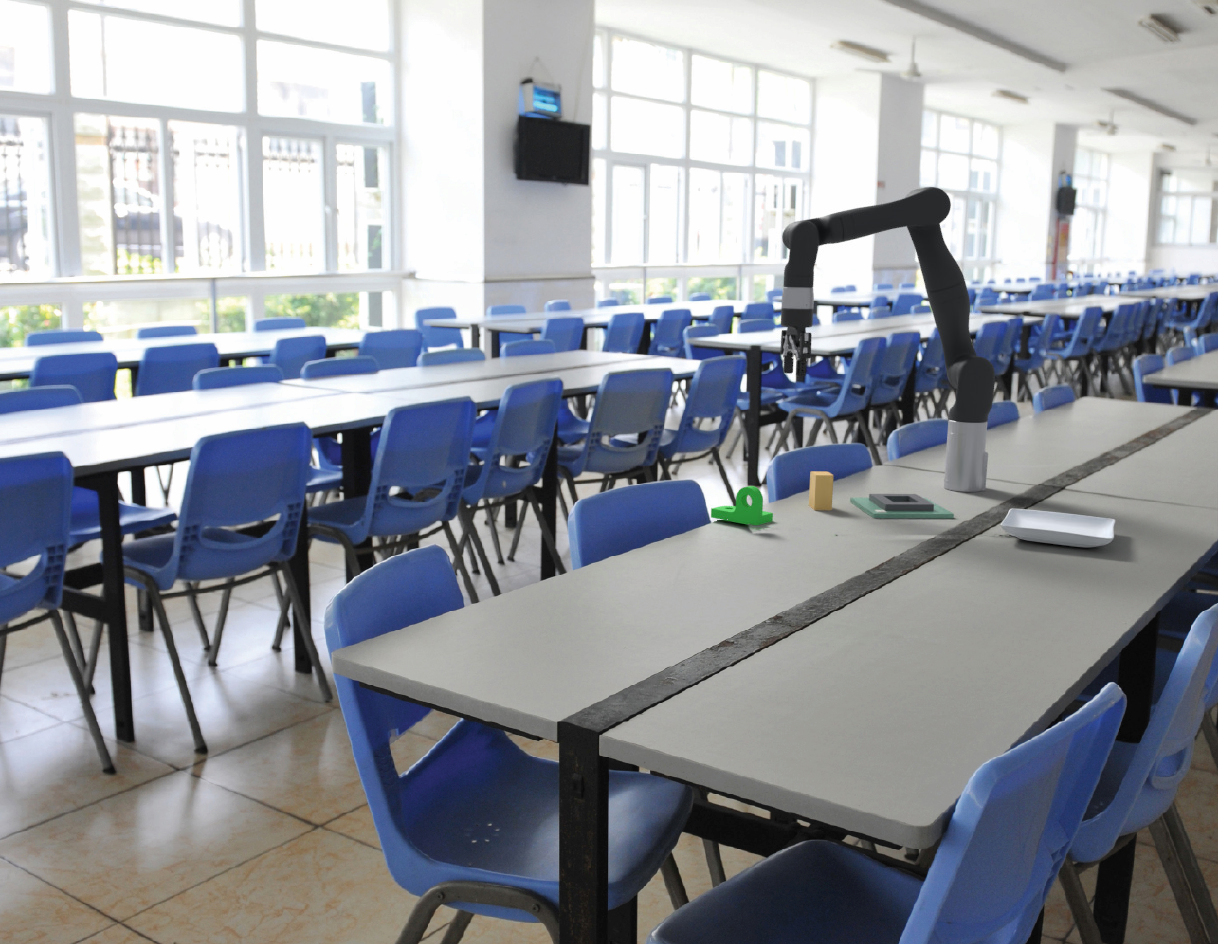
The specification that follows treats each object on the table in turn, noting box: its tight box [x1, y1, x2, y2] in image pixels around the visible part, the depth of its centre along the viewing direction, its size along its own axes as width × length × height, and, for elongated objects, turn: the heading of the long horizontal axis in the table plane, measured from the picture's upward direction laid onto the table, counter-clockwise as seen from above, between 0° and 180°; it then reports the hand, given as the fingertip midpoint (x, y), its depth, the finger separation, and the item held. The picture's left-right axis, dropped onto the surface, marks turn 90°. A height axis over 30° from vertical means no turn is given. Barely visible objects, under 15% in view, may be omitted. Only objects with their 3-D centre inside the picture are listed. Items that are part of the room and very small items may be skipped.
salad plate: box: [1000, 508, 1116, 548], centre depth 233 cm, size 21×21×3 cm
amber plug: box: [808, 470, 834, 511], centre depth 255 cm, size 4×5×8 cm
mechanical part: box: [710, 485, 774, 526], centre depth 242 cm, size 12×6×8 cm, turn 48°
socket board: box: [849, 493, 955, 519], centre depth 255 cm, size 18×18×2 cm
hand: (794, 374), depth 270 cm, fingers open, 8 cm apart
